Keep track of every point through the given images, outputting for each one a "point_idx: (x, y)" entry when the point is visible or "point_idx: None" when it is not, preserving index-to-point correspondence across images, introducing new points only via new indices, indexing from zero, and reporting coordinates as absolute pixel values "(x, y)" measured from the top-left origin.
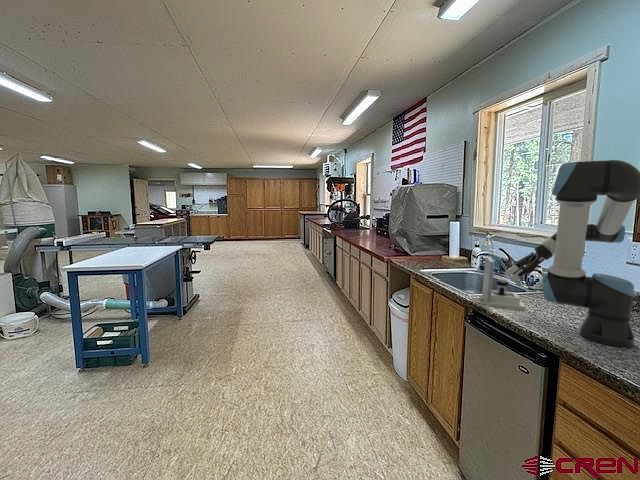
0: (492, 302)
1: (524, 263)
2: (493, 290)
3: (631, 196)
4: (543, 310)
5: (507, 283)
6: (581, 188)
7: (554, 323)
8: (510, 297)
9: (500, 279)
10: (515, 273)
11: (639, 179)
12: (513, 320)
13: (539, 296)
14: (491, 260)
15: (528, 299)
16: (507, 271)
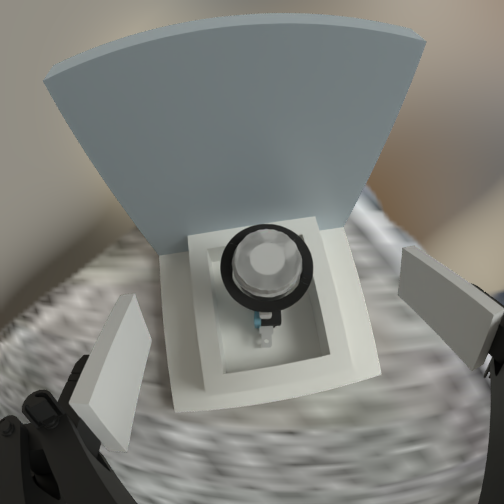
0: (172, 263)
1: (500, 435)
2: (322, 249)
3: None
4: (229, 487)
5: (238, 302)
6: None
7: None
8: (199, 342)
9: (276, 242)
10: (115, 334)
11: None
12: (27, 333)
13: (484, 441)
14: (127, 42)
15: (416, 421)
16: (418, 268)
